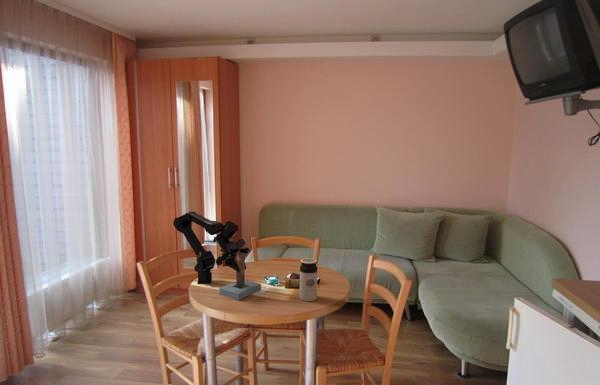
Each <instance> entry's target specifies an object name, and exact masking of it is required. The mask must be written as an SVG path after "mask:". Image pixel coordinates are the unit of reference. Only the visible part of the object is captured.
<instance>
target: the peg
mask: <svg viewBox="0 0 600 385" xmlns="http://www.w3.org/2000/svg"><path fill="white" fill-rule="evenodd" d="M245 260H246V256H245V253H242V252H240V253H236V257H235V262H236V264H237V266H238V267H239V269H240V272H237V271H236V270H235V271H236V272H235V282H236V285H238V286H242V285H244V284H245V280H246V279H245V278H246V276H245V274H246V273H245V271H246V270H245V264H246V261H245Z"/></svg>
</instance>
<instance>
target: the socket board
mask: <svg viewBox="0 0 600 385" xmlns="http://www.w3.org/2000/svg"><path fill="white" fill-rule="evenodd" d="M218 290H219V295H220V296H224V297H226V298H230V299H233V300H237V301H240V300H242V299H244V298H246V297H248V296H251V295H253V294H255V293H257V292H259V291H261V290H262V284H261V283H259V282H255V281H252V280H248V279H245V284H244V285H242V286H238V285H236V281H234V282H232V283H228V284H227V285H223V286H222V287H219V288H218Z"/></svg>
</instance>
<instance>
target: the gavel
mask: <svg viewBox="0 0 600 385" xmlns="http://www.w3.org/2000/svg"><path fill="white" fill-rule="evenodd" d="M291 275H292V277H291V279H289V278H284V288H285V289H288V288H300V278H297V274H296V273H295V272H292V273H291V274H290V276H291Z"/></svg>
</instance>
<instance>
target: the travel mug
mask: <svg viewBox="0 0 600 385" xmlns="http://www.w3.org/2000/svg"><path fill="white" fill-rule="evenodd" d="M317 262H318V260H317V259H316V258H311V257H310V258H309V257H307V258H305V257H304V258H302V259H300V263H301V264H300V266H299V279H300V287H299V299H300V300H301V301H304V302H313V301H316V300H317V298H318V266H317Z"/></svg>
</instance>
